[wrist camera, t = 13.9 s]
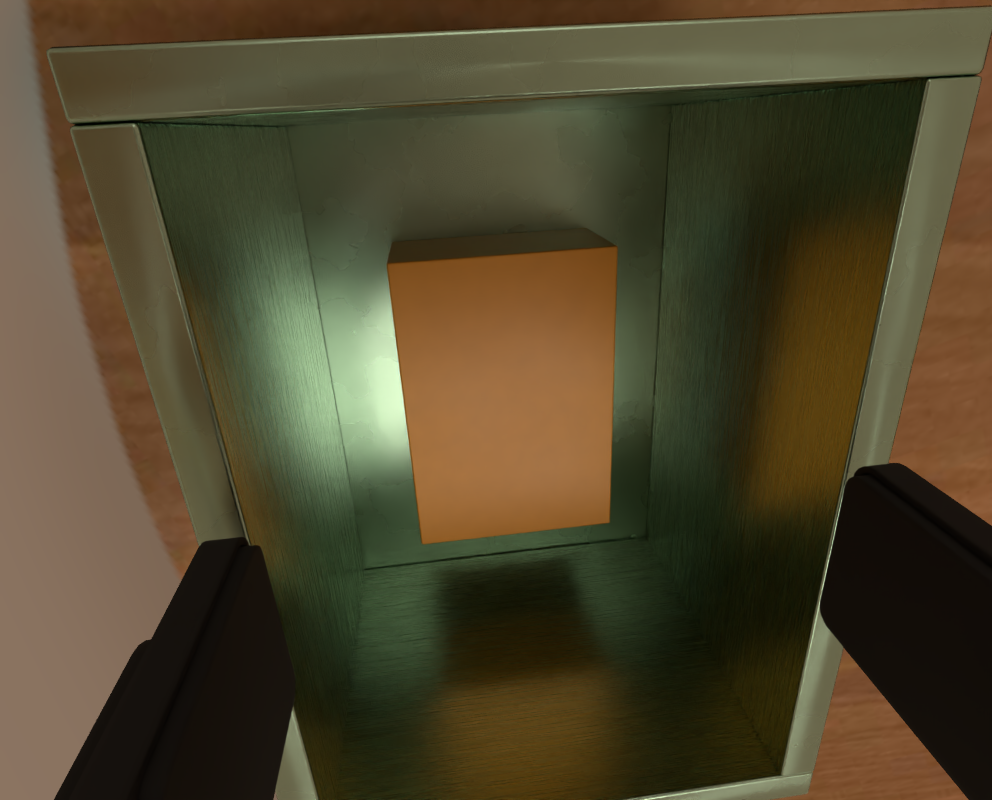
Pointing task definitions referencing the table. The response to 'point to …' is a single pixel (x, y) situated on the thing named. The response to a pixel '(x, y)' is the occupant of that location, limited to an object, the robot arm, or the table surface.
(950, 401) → the table surface
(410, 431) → the block
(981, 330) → the table surface
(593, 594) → the bin
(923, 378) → the table surface
